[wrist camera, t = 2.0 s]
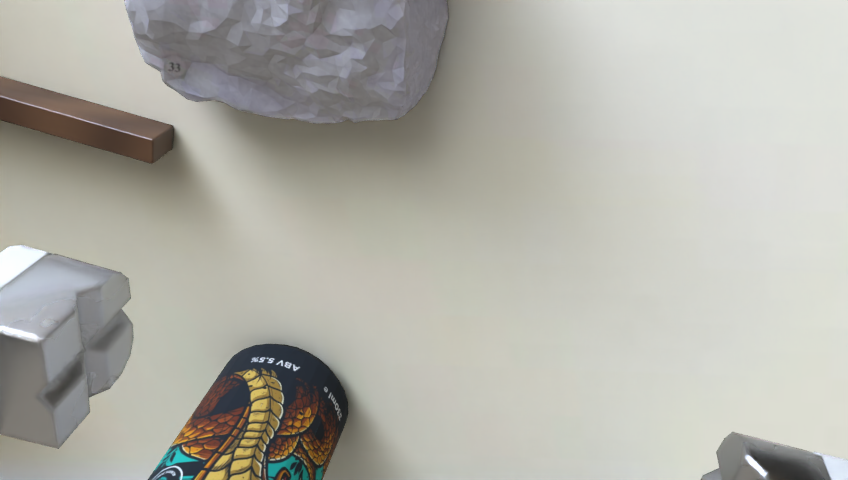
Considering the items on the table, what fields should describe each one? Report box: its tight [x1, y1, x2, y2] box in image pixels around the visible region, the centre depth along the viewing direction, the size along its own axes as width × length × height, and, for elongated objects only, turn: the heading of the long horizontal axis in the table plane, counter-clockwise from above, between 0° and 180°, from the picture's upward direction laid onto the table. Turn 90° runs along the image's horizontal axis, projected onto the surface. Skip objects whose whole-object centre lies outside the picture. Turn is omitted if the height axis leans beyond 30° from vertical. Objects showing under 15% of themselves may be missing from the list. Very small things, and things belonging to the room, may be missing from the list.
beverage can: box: [148, 344, 348, 480], centre depth 33 cm, size 7×7×12 cm
